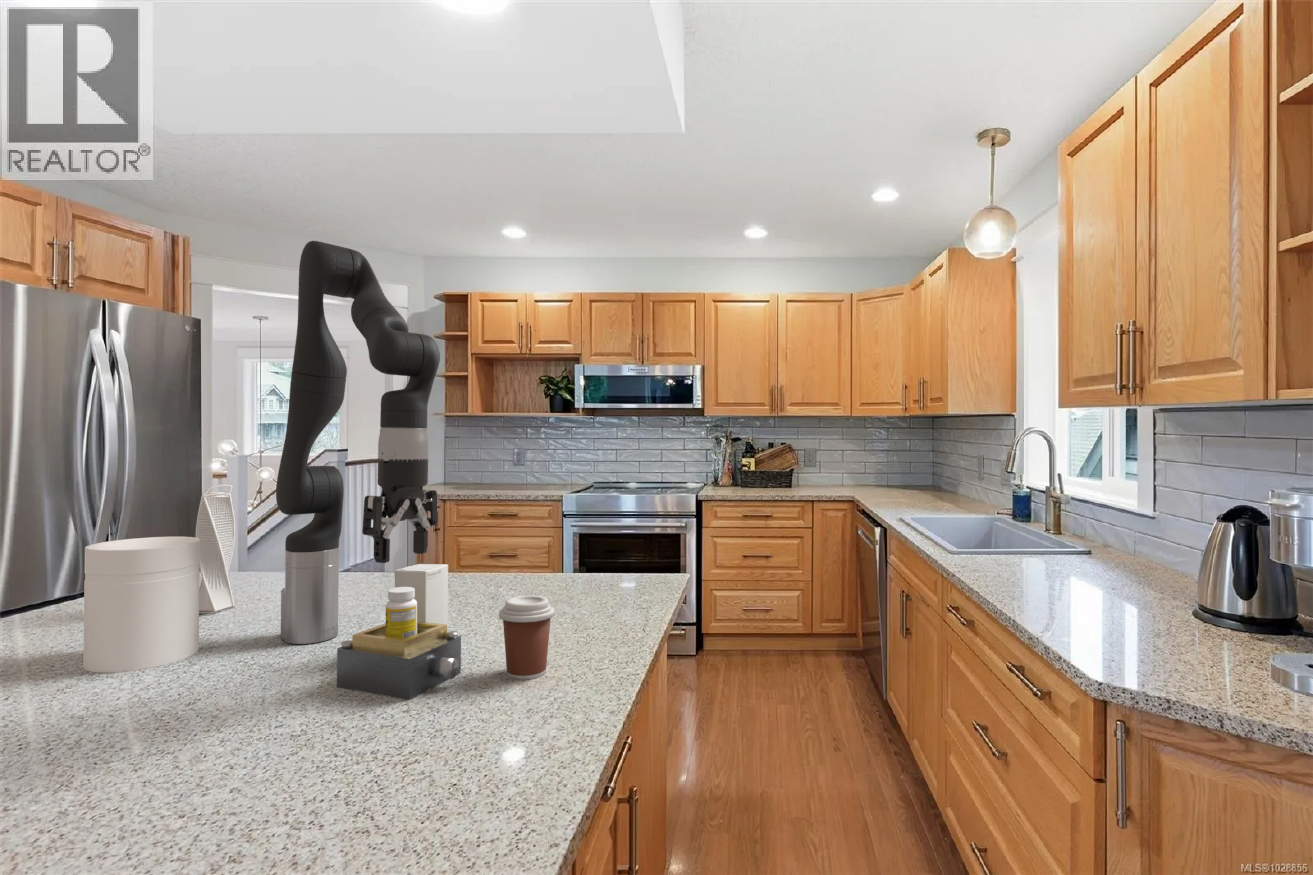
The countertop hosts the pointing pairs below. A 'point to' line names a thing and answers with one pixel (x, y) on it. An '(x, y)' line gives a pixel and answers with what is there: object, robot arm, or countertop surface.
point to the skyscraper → (215, 550)
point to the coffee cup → (526, 635)
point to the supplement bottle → (401, 613)
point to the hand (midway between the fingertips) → (401, 557)
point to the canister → (140, 603)
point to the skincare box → (427, 590)
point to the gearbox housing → (399, 661)
